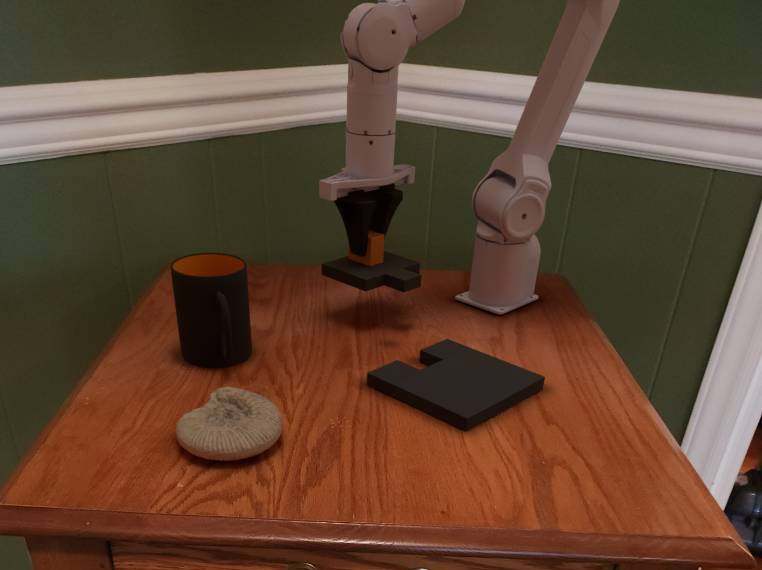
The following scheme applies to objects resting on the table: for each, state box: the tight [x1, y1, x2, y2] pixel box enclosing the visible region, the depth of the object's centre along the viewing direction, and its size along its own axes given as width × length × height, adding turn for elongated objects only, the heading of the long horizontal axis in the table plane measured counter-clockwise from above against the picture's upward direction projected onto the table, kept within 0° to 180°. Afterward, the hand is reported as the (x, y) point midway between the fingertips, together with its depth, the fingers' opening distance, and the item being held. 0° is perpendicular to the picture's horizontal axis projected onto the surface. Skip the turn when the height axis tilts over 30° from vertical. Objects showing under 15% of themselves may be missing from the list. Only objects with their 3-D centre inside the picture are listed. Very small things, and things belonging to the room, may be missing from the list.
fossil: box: [175, 386, 283, 462], centre depth 70 cm, size 11×4×10 cm
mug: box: [169, 252, 253, 369], centre depth 82 cm, size 8×12×10 cm
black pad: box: [321, 230, 422, 293], centre depth 91 cm, size 10×11×5 cm
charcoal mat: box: [366, 338, 546, 432], centre depth 81 cm, size 14×14×2 cm
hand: (366, 252), depth 93 cm, fingers closed on black pad, 2 cm apart
